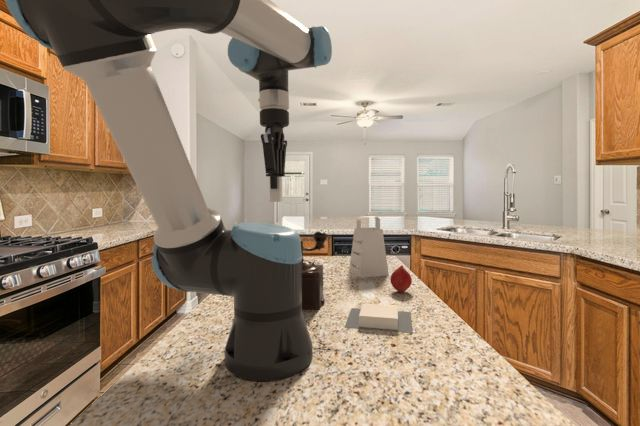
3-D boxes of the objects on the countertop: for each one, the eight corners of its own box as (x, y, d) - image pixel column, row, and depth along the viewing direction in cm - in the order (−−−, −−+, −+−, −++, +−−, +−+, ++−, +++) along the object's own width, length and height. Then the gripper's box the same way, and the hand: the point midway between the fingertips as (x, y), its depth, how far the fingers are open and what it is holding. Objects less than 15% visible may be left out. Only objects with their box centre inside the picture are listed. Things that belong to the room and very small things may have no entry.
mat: (412, 334, 68) (412, 332, 68) (344, 328, 71) (344, 327, 71) (410, 313, 80) (410, 312, 80) (351, 309, 83) (351, 308, 83)
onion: (388, 294, 95) (388, 266, 94) (393, 288, 100) (393, 262, 99) (408, 297, 92) (409, 268, 91) (413, 291, 97) (413, 264, 97)
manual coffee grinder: (322, 312, 81) (321, 238, 80) (277, 310, 83) (276, 237, 82) (328, 292, 97) (328, 230, 96) (290, 291, 98) (289, 230, 97)
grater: (348, 270, 123) (348, 216, 122) (374, 268, 126) (375, 215, 125) (360, 277, 113) (360, 218, 112) (388, 275, 116) (389, 217, 115)
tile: (397, 316, 77) (397, 330, 70) (362, 313, 79) (358, 327, 71) (397, 305, 77) (397, 318, 69) (362, 303, 79) (358, 315, 71)
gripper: (270, 116, 94) (271, 200, 96) (249, 105, 82) (252, 202, 83) (295, 114, 93) (297, 200, 94) (278, 103, 80) (280, 202, 82)
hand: (275, 201), depth 89 cm, fingers closed
